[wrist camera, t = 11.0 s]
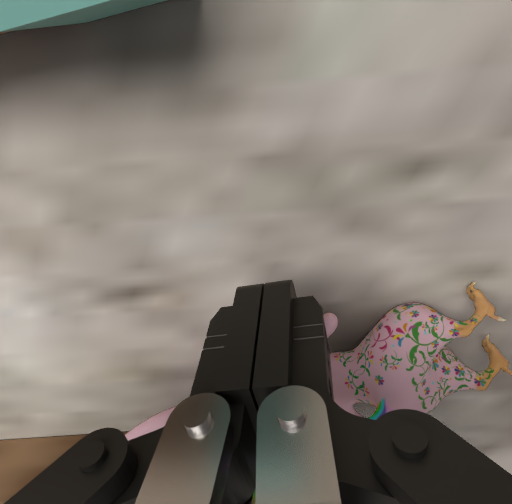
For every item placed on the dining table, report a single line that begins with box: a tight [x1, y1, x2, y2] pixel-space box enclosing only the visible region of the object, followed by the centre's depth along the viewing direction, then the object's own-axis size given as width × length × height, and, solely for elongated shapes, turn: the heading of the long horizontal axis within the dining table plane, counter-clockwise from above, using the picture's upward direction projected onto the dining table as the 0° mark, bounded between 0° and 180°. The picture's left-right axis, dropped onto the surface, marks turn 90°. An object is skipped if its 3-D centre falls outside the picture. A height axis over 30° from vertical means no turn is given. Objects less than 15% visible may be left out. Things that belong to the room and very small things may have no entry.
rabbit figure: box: [125, 282, 512, 441], centre depth 14 cm, size 6×6×15 cm
